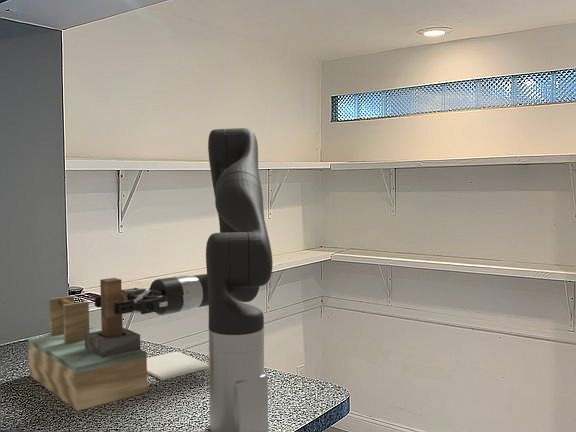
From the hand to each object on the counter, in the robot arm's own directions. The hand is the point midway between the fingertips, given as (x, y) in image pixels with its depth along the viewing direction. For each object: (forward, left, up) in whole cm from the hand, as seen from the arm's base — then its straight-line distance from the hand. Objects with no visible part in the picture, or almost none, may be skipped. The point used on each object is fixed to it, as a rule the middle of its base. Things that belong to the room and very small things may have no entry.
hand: (104, 305), depth 117 cm
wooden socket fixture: (+6, +2, -17) cm, 18 cm away
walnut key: (0, -2, -9) cm, 9 cm away
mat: (+4, -17, -17) cm, 24 cm away
